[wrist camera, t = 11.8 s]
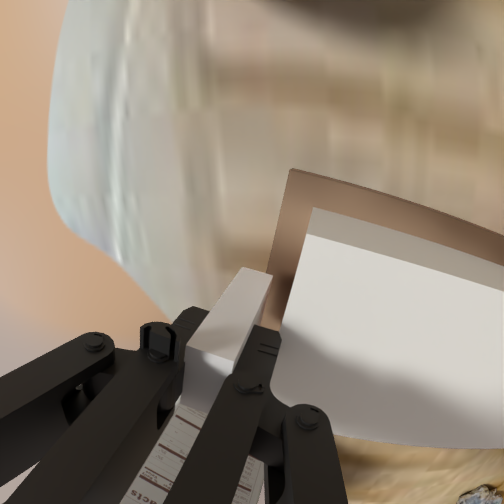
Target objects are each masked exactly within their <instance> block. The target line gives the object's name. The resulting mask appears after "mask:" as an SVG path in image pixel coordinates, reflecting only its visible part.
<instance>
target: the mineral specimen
mask: <svg viewBox="0 0 504 504" xmlns="http://www.w3.org/2000/svg"><path fill="white" fill-rule="evenodd" d="M496 490H497V489H496V488H495V489H493V490H490V491H489V490H488V487H486V486H485V485H481V486H479V487H478V488H476V489H474V490H473V491H471V492H469V493H467V494H465V495H463V496H460V497H459V500H458V501H457V503H456V504H501V502H502V500H503V498H502V496H501V494H499V495H495V493H496Z"/></svg>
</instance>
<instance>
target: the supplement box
mask: <svg viewBox="0 0 504 504" xmlns="http://www.w3.org/2000/svg"><path fill="white" fill-rule="evenodd" d="M180 397H181V395H180ZM180 397H179V398H178V400H177V402H176V403H175V411H174V414H173V416H172V418H171V419H170V421H169V423H168V425H167V426H166V428H165V430H164V431H163V433H162V435H161V436H160V438H159V440H158V441H157V443H156V444H155V446H154V448H153V449H152V451H151V453H150V454H149V456H148V458H147V459H146V461H145V463H144V464H143V466H142V468H141V469H140V471H139V473H138V474H137V476H136V478H135V479H134V481H133V482H132V484H131V486H130V487H129V489H128V491H127V492H126V494H125V495H124V497H123V499H122V500H121V502H120V504H163V502H164V500H165V498H166V496H167V495H168V493H169V491H170V489H171V487H172V485H173V483H174V481H175V479H176V477H177V475H178V473H179V471H180V469H181V467H182V465H183V463H184V461H185V460H186V458H187V456H188V454H189V452H190V450H191V448H192V446H193V444H194V442H195V440H196V438H197V436H198V434H199V432H200V430H201V428H202V426H203V424H204V421H205V419H206V417H207V415H208V414H207V413H204V412H201V411H198V410H196V409H193V408H190V407H187V406H185V405H182V404H180ZM263 481H264V463H263V462H262V461H260V460H258V459H257V458H255V457H253V456H252V455H250V454H248V457H247V460H246V463H245V466H244V469H243V472H242V475H241V478H240V481H239V484H238V487H237V490H236V493H235V496H234V498H233V501H232V504H257V503H258V499H259V495H260V493H261V489H262V485H263Z"/></svg>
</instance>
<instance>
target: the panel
mask: <svg viewBox="0 0 504 504" xmlns="http://www.w3.org/2000/svg"><path fill="white" fill-rule="evenodd" d="M279 333H280V336H281V339H282V342H281V346H280V349H279V353H278V357H277V360H276V364H275V367H274V371H273V374H272V378H271V381H270V388H271V391H272V393H273V395H274V396H275V397H276V398H277V399H278V400H279V401H281V402H282V403H284V404H286V405H287V406H289V407H292V406H294V405H297V404H309V405H314V406H316V407H318V408H320V409H321V410H322V411H323V412H325V413H326V414H327V416H328V418H329V420H330V423H331V428H332V432H333V434H334V435H339V436H345V437H351V438H356V439H363V440H369V441H376V442H383V443H391V444H400V445H410V446H421V447H434V448H454V449H502V448H504V266H501V265H498V264H496V263H493V262H490V261H487V260H484V259H482V258H479V257H476V256H473V255H470V254H467V253H464V252H461V251H459V250H456V249H453V248H450V247H447V246H444V245H441V244H438V243H434V242H431V241H428V240H425V239H422V238H419V237H416V236H413V235H409V234H406V233H403V232H400V231H396V230H393V229H390V228H386V227H383V226H380V225H376V224H373V223H369V222H366V221H362V220H359V219H355V218H352V217H348V216H345V215H341V214H337V213H334V212H330V211H326V210H323V209H319V208H315V207H313V210H312V214H311V217H310V221H309V225H308V229H307V233H306V237H305V241H304V245H303V248H302V252H301V256H300V260H299V263H298V267H297V271H296V274H295V278H294V282H293V285H292V289H291V292H290V296H289V299H288V303H287V306H286V310H285V313H284V317H283V320H282V324H281V327H280V330H279Z"/></svg>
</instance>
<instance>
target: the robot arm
mask: <svg viewBox="0 0 504 504" xmlns="http://www.w3.org/2000/svg"><path fill="white" fill-rule="evenodd" d="M272 278H273V275H270V274H266V273H263V272H259V271H256V270H252V269H249V268H245V267H242V268H241V269H240V271H239V272H238V273H237V275H236V276H235V277H234V279H233V280H232V282H231V283H230V284H229V286H228V287H227V289H226V290H225V291H224V293H223V294H222V296H221V297H220V298H219V300H218V301H217V302H216V304H215V305H214V307H213V308H212V309H211V311H207V310H204V309H201V308H198V307H195V306H192V307H190V308H188V309H186V310H183V312H182V313H181V314H180V315H179V316H178V318H177V319H176V320H175V321H174V322H173V324H171V325H170V324H168V323H163V322H150V323H146V324H144V325H143V326H141V327H140V348H139V349H138V350H137V351H133V350H125V349H120V348H115V345H114V341H113V340H112V339H111V338H110V337H109V336H108V335H106V334H104V333H99V332H89V333H86V334H83V335H81V336H79V337H77V338H75V339H73V340H71V341H69V342H67V343H65V344H63V345H61V346H60V347H58V348H56V349H54V350H52V351H50V352H48V353H46V354H44V355H42V356H40V357H38V358H36V359H35V360H33V361H31V362H29V363H27V364H25V365H23V366H21V367H19V368H17V369H15V370H14V371H11V372H10V373H8V374H6V375H4V376H2V377H0V487H1V486H3V485H5V484H6V483H8V482H9V481H11V480H12V479H14V478H15V477H17V476H18V475H20V474H21V473H23V472H24V471H26V470H27V469H29V468H30V467H32V466H33V465H35V464H36V463H37V462H39V461H40V460H41V461H40V462H39V463H38V464H37V465H36V466H35V468H34V469H33V470H32V471H31V472H30V474H29V475H28V476H27V477H26V478H25V479H24V481H23V482H22V483H21V484H20V485H19V486H18V488H17V489H16V490H15V491H14V493H13V494H12V495H11V496H10V497H9V498H8V500H7V501H6V502H4V503H3V504H120V502H121V500H122V499H123V497H124V495H125V494H126V492H127V491H128V489H129V487H130V486H131V484H132V482H133V481H134V479H135V478H136V476H137V474H138V473H139V471H140V469H141V468H142V466H143V464H144V463H145V461H146V459H147V458H148V456H149V454H150V453H151V451H152V449H153V448H154V446H155V444H156V443H157V441H158V440H159V438H160V436H161V435H162V433H163V431H164V430H165V428H166V426H167V425H168V423H169V421H170V419H171V418H172V416H173V414H174V411H175V403H176V402H177V400H178V398H179V397H180V395H181V397H180V404H182V405H185V406H187V407H190V408H193V409H196V410H198V411H201V412H204V413H207V414H208V415H207V417H206V419H205V421H204V424H203V426H202V428H201V430H200V432H199V434H198V436H197V438H196V440H195V442H194V444H193V446H192V448H191V450H190V452H189V454H188V456H187V458H186V460H185V461H184V463H183V465H182V467H181V469H180V471H179V473H178V475H177V477H176V479H175V481H174V483H173V485H172V487H171V489H170V491H169V493H168V495H167V496H166V498H165V500H164V502H163V504H232V501H233V498H234V496H235V493H236V490H237V487H238V484H239V481H240V478H241V475H242V472H243V469H244V466H245V463H246V460H247V457H248V454H250V455H252V456H253V457H255V458H257V459H258V460H260V461H262V462H263V463H264V487H265V504H348V500H347V495H346V491H345V486H344V481H343V477H342V472H341V467H340V463H339V458H338V454H337V449H336V445H335V441H334V436H333V432H332V428H331V423H330V420H329V418H328V416H327V414H326V413H325V412H323V411H322V410H321V409H320V408H318V407H316V406H314V405H309V404H297V405H294V406H292V407H289V406H287V405H286V404H284V403H282V402H281V401H279V400H278V399H277V398H276V397H275V396H274V395H273V393H272V391H271V388H270V381H271V378H272V374H273V371H274V367H275V364H276V360H277V357H278V353H279V349H280V346H281V342H282V339H281V336H280V333H279V331H275V330H272V329H268V328H265V327H261V326H260V324H261V321H262V317H263V313H264V309H265V305H266V302H267V298H268V294H269V290H270V286H271V282H272ZM80 384H81V385H80Z"/></svg>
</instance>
